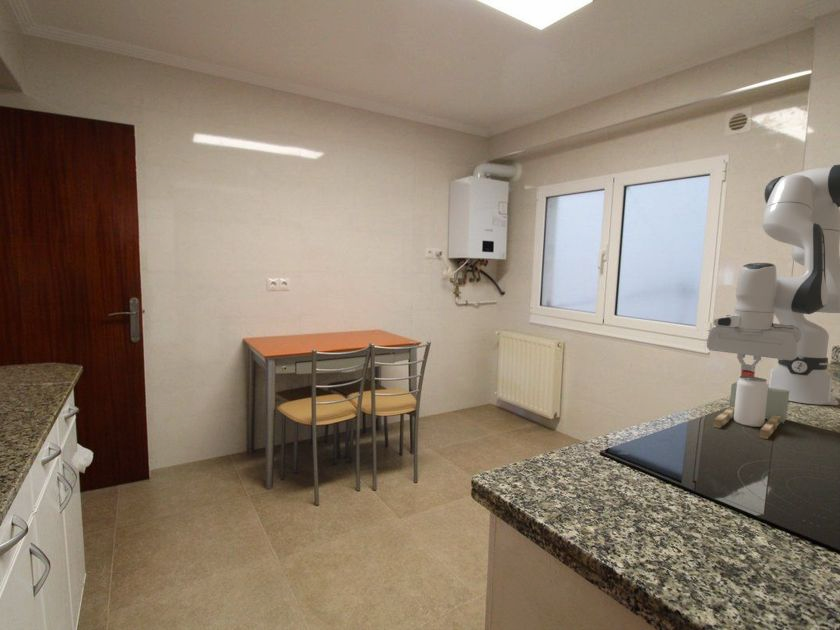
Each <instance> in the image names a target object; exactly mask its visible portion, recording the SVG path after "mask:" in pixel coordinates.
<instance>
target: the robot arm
mask: <svg viewBox="0 0 840 630" xmlns="http://www.w3.org/2000/svg"><path fill="white" fill-rule="evenodd" d="M764 200H765V203H766V205H765V209H764V212H763V215H762V222H761V224H762V229H763V231H764V232H765V234H766V235H768V237H770V238H771V239H773V240H775V241H778V242H780V243H784V244H788V245H792V248H791V257H792V260H794V262H796V263H798V264H800V265H801V266H802V267H803V266H804V273H803V274H802V275H799V276H791V275H790V276H788V275H787V276H785V275H784V276H777V275H778V274H777V266H776V265H775V264H773V263H770V262H754V263H752V262H751V263H747V264H744V265H743V266H741V268H740V271H739V275H738V278H737V283H736V288H735V289H736V290H735V297H736V304H735V306H734V309H733V314H728V315H725V316H720V317H716V318H714V319H713V325H714V326H713V327H711V328H710V330H709V333H708V336H707V339H706V348H707V349H708V350H709V351H714V352H722V353H729V354H735V355H737V356H736V358H737V360H738V361H739V364H740V365H741V366H740V371H741V370H742V371H749V372H756V366H757V365H758V364H759V363H760V361H761V360H762V358H768V359H770V358H771V359H776V360H778V361H777V363H778V364H777V366H775V367H773V368H772V369H771V371H770V377H769V383H768V387H771V388H777V389H783V390H789V400H788V402H794V403H800V404H808V405H827V406H828V405H829V406H839V401H838V400H837V399H836V398H835V397H834V395H833V394H832V393H833V388H832V383H833V377H832V376H831V375H830V374H829V373H828V372H827V369H828V365H829V357H827V356H828V355H827V354H828V346H829V338H830V337H829V336H830V335H829V332H828V330H826V329H825V328H824V327H823V326H820V325H819V324H817V323H815V322H812V321H810V320H808V319H807V318H806V317H805V315H811V314H814V313H822V314H823V313H826V314H840V164H834V165H833V166H832V165H831V166H823V167H815V168H810V169H806V170H804V171H799V172H795V173H790V174H788V175H787V174H786V175H781V176H778V177H776V178H774V179H772V180H770V181H769V183H768V184H766V186H765V189H764ZM804 314H805V315H804ZM774 316H775V317H776V319H777V320H778V322H779V323H774ZM746 356H750V357H751V356H752V357H753V359H752V360H753V361H754V362H753V363H751V364H747V363H746V362H745V360H744V358H746Z"/></svg>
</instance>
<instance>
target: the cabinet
mask: <svg viewBox="0 0 840 630" xmlns="http://www.w3.org/2000/svg"><path fill="white" fill-rule="evenodd" d="M737 382H738V381H735V382H733V383H732V384H731V388H730V398H729V399H730V400H729V407H735V399H736V389H737ZM788 407H789V390H783V389H777V388H771V387H769V386H768V394H767V404H766V413H765V419H768V420H767V421H769V419H770V418H771V417H772V416H773V415H775V416H780V417H781V418H780V422H782V423H781V424H784V423H785V422H786V421H785V420H787V415H788ZM784 421H785V422H784Z"/></svg>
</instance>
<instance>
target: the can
mask: <svg viewBox="0 0 840 630" xmlns="http://www.w3.org/2000/svg"><path fill="white" fill-rule="evenodd" d="M736 382H737V389H736V399H735V410H734V417H733V421H734V422H735V423H736V424H738V425H741V426H745V427H751V428H762V427H763V426H764V425H765V423H766V422H765V421H766V420H765V413H766V404H767V394H768V387H769V384H768V383H767V379H766V378H763V377H758V376H754V377H753V376H741V375H740V376H739V379H738V380H737V381H736Z"/></svg>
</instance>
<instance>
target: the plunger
mask: <svg viewBox="0 0 840 630" xmlns="http://www.w3.org/2000/svg"><path fill="white" fill-rule="evenodd" d="M755 372H756V371H755ZM755 372H749V371H742V370H741V369H740V376H753V377H755Z"/></svg>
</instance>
